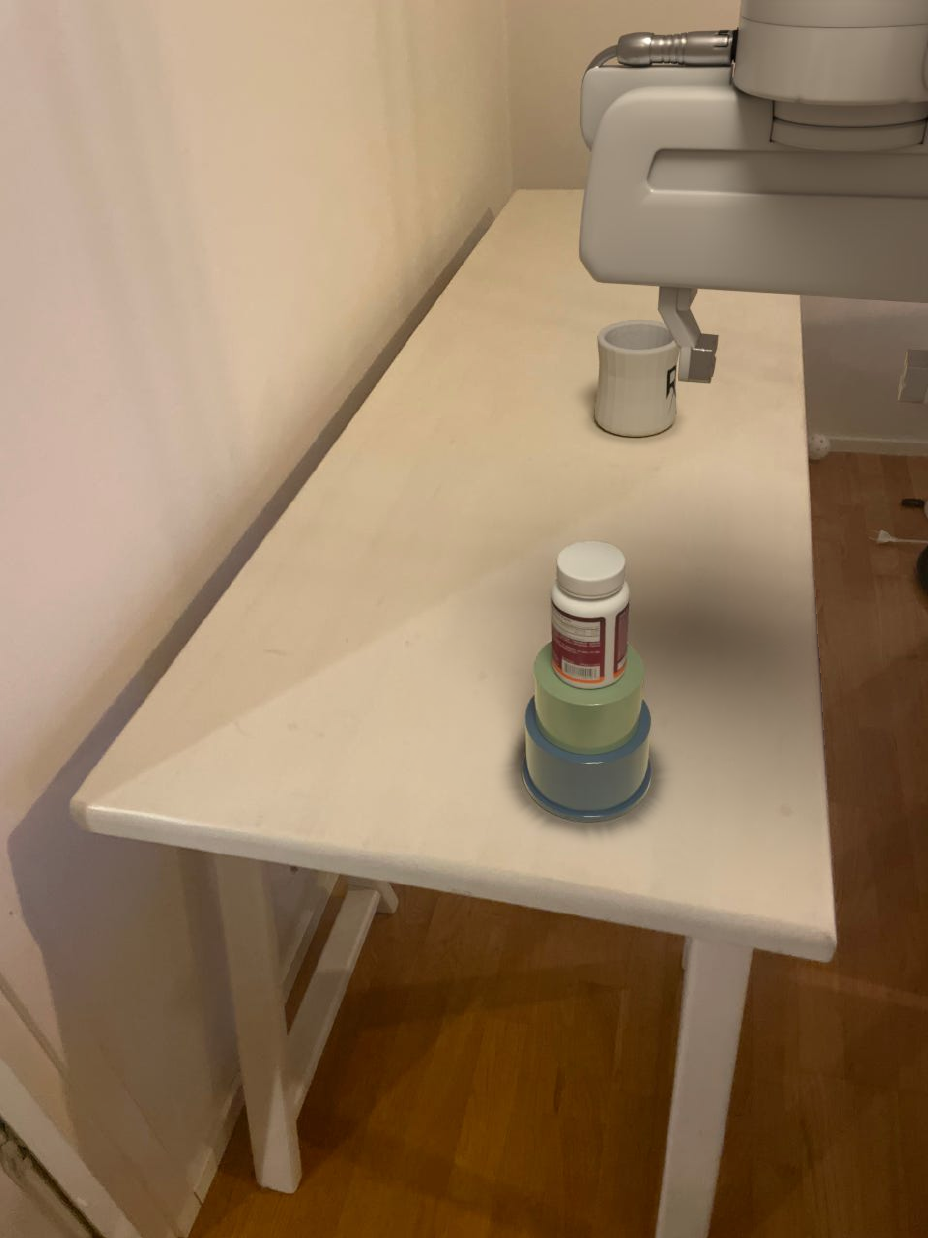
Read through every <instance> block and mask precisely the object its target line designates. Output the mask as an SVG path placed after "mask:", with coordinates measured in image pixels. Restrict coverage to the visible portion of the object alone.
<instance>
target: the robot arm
mask: <svg viewBox="0 0 928 1238" xmlns="http://www.w3.org/2000/svg"><path fill="white" fill-rule="evenodd" d="M614 58H616V60H617V63H618V64H605V63H607V62H608V61H609V60H611V59H614ZM579 105H580V107H579V109H580V111H579V112H580V114H579V115H580V117H579V122H580V123H579V125H580V133H581V137H582V140H583V142H584V144H585V146H586V149H588V150H589V152H590V155H589V160H588V166H587V172H586V177H585V183H584V184H585V185H584V190H583V191H584V192H583V196H582V197H583V198H582V206H581V215H580V225H579V240H578V258H579V261H580V263H581V264H582V265H583V268H584V269H585V270H586V271H587V273H588V275H589V276H590V277H591V278H592V280H593V281H595V282H596V283H601V284H613V285H629V286H644V287H658V289H659V290H658V302H657V311H658V313H659V315H660V317H661V318H662V320H663V323H665V324H666V326H667V328H668V330H669V332H670V334H671V336H672V338H673V339H674V341H675V343H676V345H677V347H680V351H679V356H678V368H677V369H678V371H677V372H678V373H677V381H678V382H682V383H694V384H695V383H696V384H711V383H712V378H713V377H714V374H715V371H716V370H715V369H716V364H717V356H716V353H717V351H718V345H719V337H720V335H719V334H714V333H713V334H711V333H702V331H701V329H700V326H699V324H698V322H697V320H696V318H695V316H694V313H693V311H692V309H691V306H692V305H693V303H694V301H695V298H696V297H697V294H698V290H710V291H725V292H740V293H741V292H742V293H755V294H756V293H757V294H773V295H787V296H788V295H789V296H790V295H792V296H806V297H822V298H835V299H836V298H839V299H855V300H867V301H868V300H869V301H870V300H871V301H885V302H899V303H900V302H902V303H917V304H919V303H920V304H928V0H740V7H739V18H738V26H737V28H736V29H719V30H718V29H717V30H693V31H688V32H681V33H674V34H655V32H652V31H651V32H649V31H640V32H639V31H638V32H631V33H626V34H622V35H621V36H620V37H618V42H617V44H614V45H611V46H608V47H607V48H605V49H603V50H602V51H600V52H599V53H597V55H595V56H594V57H593V59H592V60H591V61H590V63H589V64H588V66H587V67H586V69H585V71H584V73H583V77H582V79H581V84H580V103H579ZM897 390H898V392H897V393H898V397H897V401H898V402H901V403H902V402H903V403H911V404H923V405H928V349H927V350H926V349H907V351H906V354H905V359H904V363H903V372H901V375H900V379H899V384H898V389H897Z"/></svg>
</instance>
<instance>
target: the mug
mask: <svg viewBox="0 0 928 1238" xmlns="http://www.w3.org/2000/svg"><path fill="white" fill-rule="evenodd" d="M596 339H597V341H596V342H597V351H598V362H599V364H598V381H597V390H596V391H597V392H596V397H595V404H594V418H595V419H594V420H595V421H596V422H597V424H598V425H599V426H600V427H601V428H602V429H604V430H605V431H607V432H609V433H612V434H614V435H617V436H623V437H630V438H632V437H633V438H635V437H637V438H638V437H640V438H641V437H648V436H653V435H657V434H659V433H662V432H664V431H665V430H667V429H669V428H670V427H671V426H672V425H673V424H674V422H675V420H676V417H677V412H678V411H677V392H676V386H677V369H678V368H677V367H678V362H679V356H680V347H677V345H676V343H675V341H674V339H673V338H672V336H671V334H670V332H669V330H668V328H667V326H666V324H665V322H664V321H663V322H662V321H658V320H652V319H651V320H650V319H630V320H622V321H617V322H614V323H611V324H609V325H607V326H605V327H603V328H601V330H600V331H599V332H598V334H597V336H596Z"/></svg>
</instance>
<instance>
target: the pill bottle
mask: <svg viewBox="0 0 928 1238" xmlns="http://www.w3.org/2000/svg"><path fill="white" fill-rule="evenodd" d="M626 563H627V562H626V558H625V555H624V553H623V552H622V551H621V549H619V548H618V547H617V546H615V545H613V544H610V543H608V542H604V541H601V540H600V541H599V540H583V541H577V542H574V543H572V544H570V545H568V546H565V547H564V548H563V549H561V551H560V552H559V553H558V555H557V557H556V573H555V574H556V578H555V580H554V581H553V584H552V585H551V588H550V620H551V621H550V622H551V624H550V625H551V626H550V627H551V641H552V665H553V669H554V671H555V673H556V674H557V676H558V677H559V678H560V679H561V680H562V681H564V682H565V683H567V684H569V685H571V686H574V687H577V688H582V689H597V688H602V687H606V686H608V685H611V684H613V683H615V682H616V681H618V680H619V679H620V677H621V676H622V675H623V673H624V671H625V669H626V663H627V645H628V644H629V643H628V640H629V622H630V605H631V604H630V603H631V591H630V587H629V584H628V582H627V580H626Z"/></svg>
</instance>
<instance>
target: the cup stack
mask: <svg viewBox="0 0 928 1238" xmlns="http://www.w3.org/2000/svg"><path fill="white" fill-rule="evenodd" d="M644 680H645V666H644V662H643V659H642V657H641V656H640V654H639V652H638V651H637V650H636V649H635V648H634V647H633V646H632V645H631V644H629V643H628V645H627V663H626V669H625V671H624V673H623V675H622V676H621V677H620V679H619V680H618V681H616V682H615V683H613V684H611V685H608V686H606V687H602V688H597V689H582V688H577V687H574V686H571V685H569V684H567V683H565V682H564V681H562V680H561V679H560V678H559V677H558V676H557V674H556V673H555V671H554V669H553V665H552V640H551V641H549V642H548V643H547V644H546V645H544V646H543V647H542V648H541V650H540V651H539V652H538V653H537V655H536V657H535V659H534V663H533V690H534V694H533V695H532V697H530V699H529V701H528V703H527V705H526V708H525V712H524V734H525V735H524V737H525V739H524V740H525V752H524V755H523V758H522V763H521V770H522V772H521V773H522V780H523V784H524V786H525V789H526V790H527V792H528V794H529V795H530V797H531V798H532V799H533V801H535V803H536V804H538V805H539V807H541V808H543V809H544V810H545V811H546V812H548V813H550V814H552V815H554V816H556V817H559V818H562V819H565V820H569V821H573V822H577V823H578V822H580V823H599V822H606V821H610V820H613V819H616V818H619V817H621V816H623V815H625V814H627V813H629V812H630V811H632V810H633V809H634V808H636V807H637V806H638V805H639V804H640V803H641V802H642V801H643V800H644V798H645V797H646V795H647V793H648V791H649V788H650V787H651V781H652V764H651V760H650V757H649V754H650V741H651V730H652V729H651V728H652V716H651V711H650V708H649V706H648V704H647V703H646V701H645V699H644V698H643V695H644V694H643V693H644V691H643V690H644Z"/></svg>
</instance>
